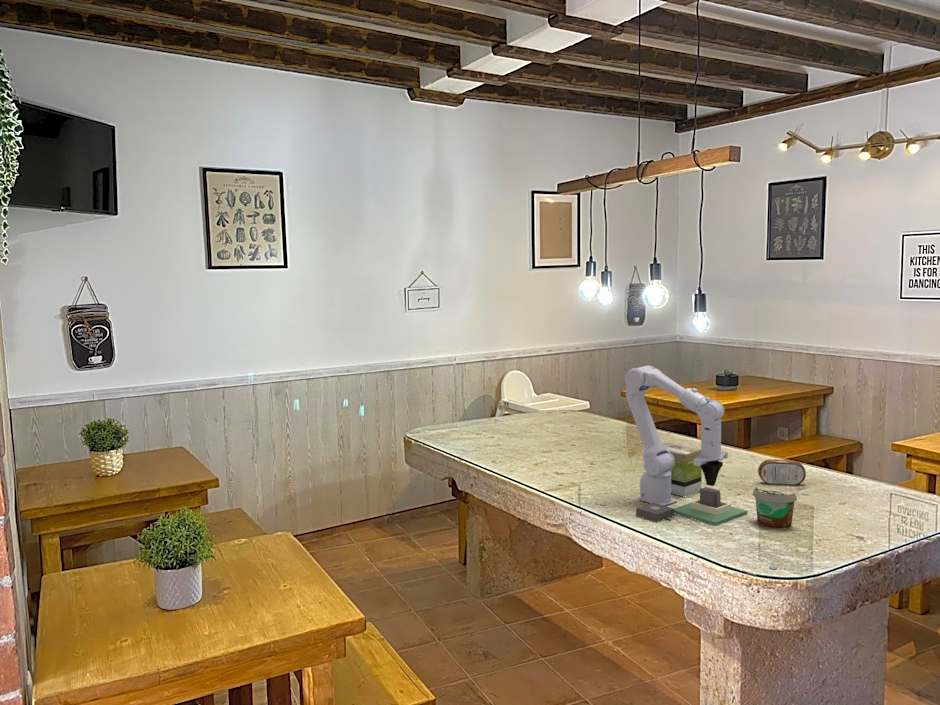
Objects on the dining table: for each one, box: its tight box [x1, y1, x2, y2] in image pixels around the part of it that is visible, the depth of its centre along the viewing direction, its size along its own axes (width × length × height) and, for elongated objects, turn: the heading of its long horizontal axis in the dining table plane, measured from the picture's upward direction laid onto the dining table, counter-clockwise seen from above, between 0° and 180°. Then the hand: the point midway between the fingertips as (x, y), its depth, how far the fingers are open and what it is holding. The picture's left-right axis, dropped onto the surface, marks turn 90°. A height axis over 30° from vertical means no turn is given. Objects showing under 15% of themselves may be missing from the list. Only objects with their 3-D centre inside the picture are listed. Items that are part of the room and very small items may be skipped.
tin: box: [757, 459, 807, 486], centre depth 251 cm, size 15×3×8 cm, turn 74°
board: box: [674, 498, 748, 527], centre depth 224 cm, size 16×16×3 cm
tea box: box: [661, 441, 703, 498], centre depth 248 cm, size 15×10×15 cm, turn 40°
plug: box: [699, 486, 722, 508], centre depth 224 cm, size 6×3×6 cm, turn 37°
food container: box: [752, 485, 798, 529], centre depth 212 cm, size 12×6×10 cm, turn 44°
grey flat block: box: [635, 503, 675, 523], centre depth 222 cm, size 10×8×3 cm
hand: (710, 484), depth 224 cm, fingers closed
